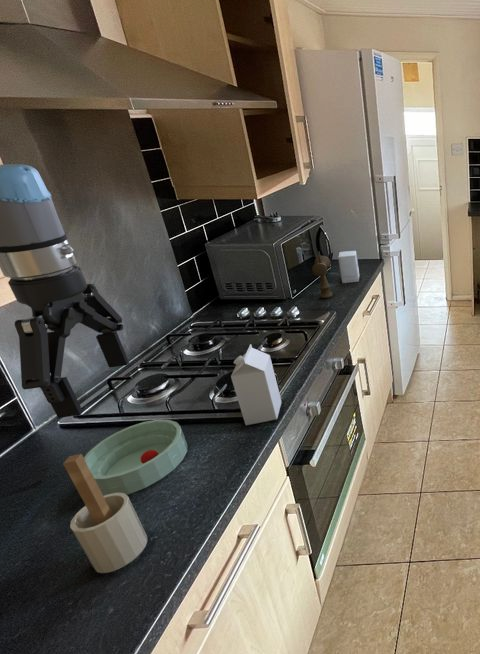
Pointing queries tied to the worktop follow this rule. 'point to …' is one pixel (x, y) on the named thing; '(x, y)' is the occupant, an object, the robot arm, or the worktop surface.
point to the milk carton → (256, 387)
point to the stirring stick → (88, 488)
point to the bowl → (136, 456)
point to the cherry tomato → (148, 456)
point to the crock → (110, 535)
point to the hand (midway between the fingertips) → (97, 388)
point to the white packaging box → (348, 266)
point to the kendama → (322, 274)
